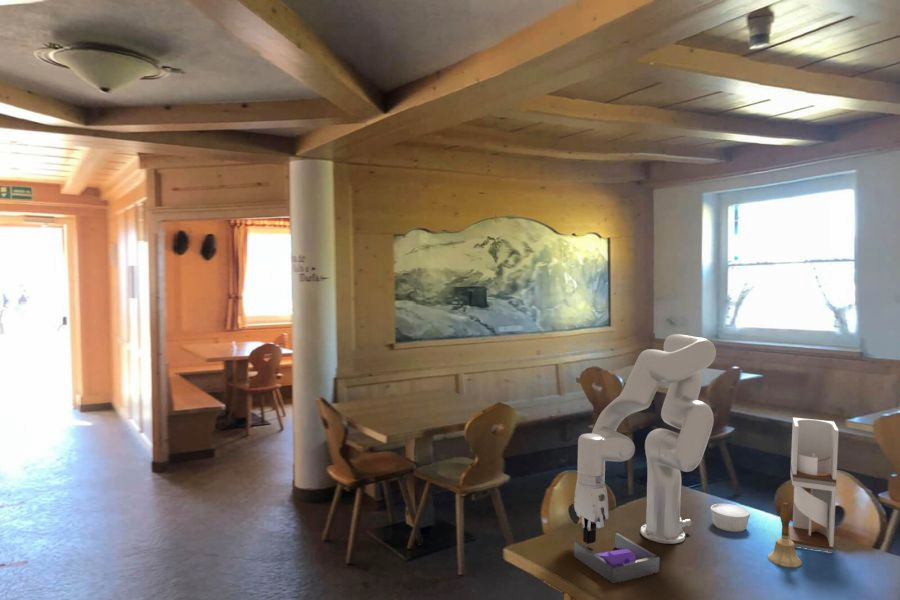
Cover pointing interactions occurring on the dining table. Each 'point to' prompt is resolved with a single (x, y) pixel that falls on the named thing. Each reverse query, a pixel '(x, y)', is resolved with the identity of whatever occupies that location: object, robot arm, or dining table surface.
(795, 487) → the display case
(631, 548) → the tray
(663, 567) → the dining table surface
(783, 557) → the hand bell
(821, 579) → the dining table surface
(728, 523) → the ramekin
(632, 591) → the dining table surface
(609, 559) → the bracket
